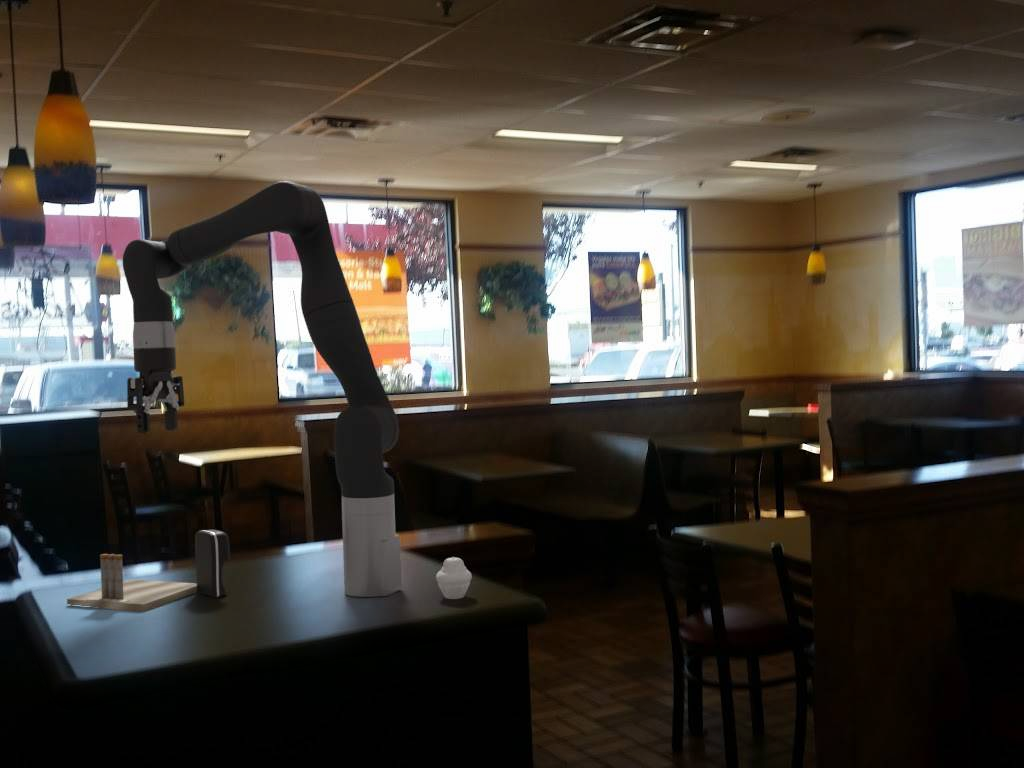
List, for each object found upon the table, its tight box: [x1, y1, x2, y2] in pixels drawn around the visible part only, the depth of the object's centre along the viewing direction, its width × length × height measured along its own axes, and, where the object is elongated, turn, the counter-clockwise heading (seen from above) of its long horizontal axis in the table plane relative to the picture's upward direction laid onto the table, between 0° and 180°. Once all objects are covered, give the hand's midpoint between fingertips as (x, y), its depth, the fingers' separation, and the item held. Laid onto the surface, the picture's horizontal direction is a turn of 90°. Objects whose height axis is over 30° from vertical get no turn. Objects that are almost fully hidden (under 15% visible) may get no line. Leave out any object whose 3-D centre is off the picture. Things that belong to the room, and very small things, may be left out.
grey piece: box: [435, 556, 473, 600], centre depth 178 cm, size 6×6×7 cm
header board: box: [66, 553, 198, 612], centre depth 184 cm, size 16×16×9 cm
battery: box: [194, 529, 231, 598], centre depth 185 cm, size 7×4×11 cm, turn 43°
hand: (157, 431), depth 197 cm, fingers open, 8 cm apart
